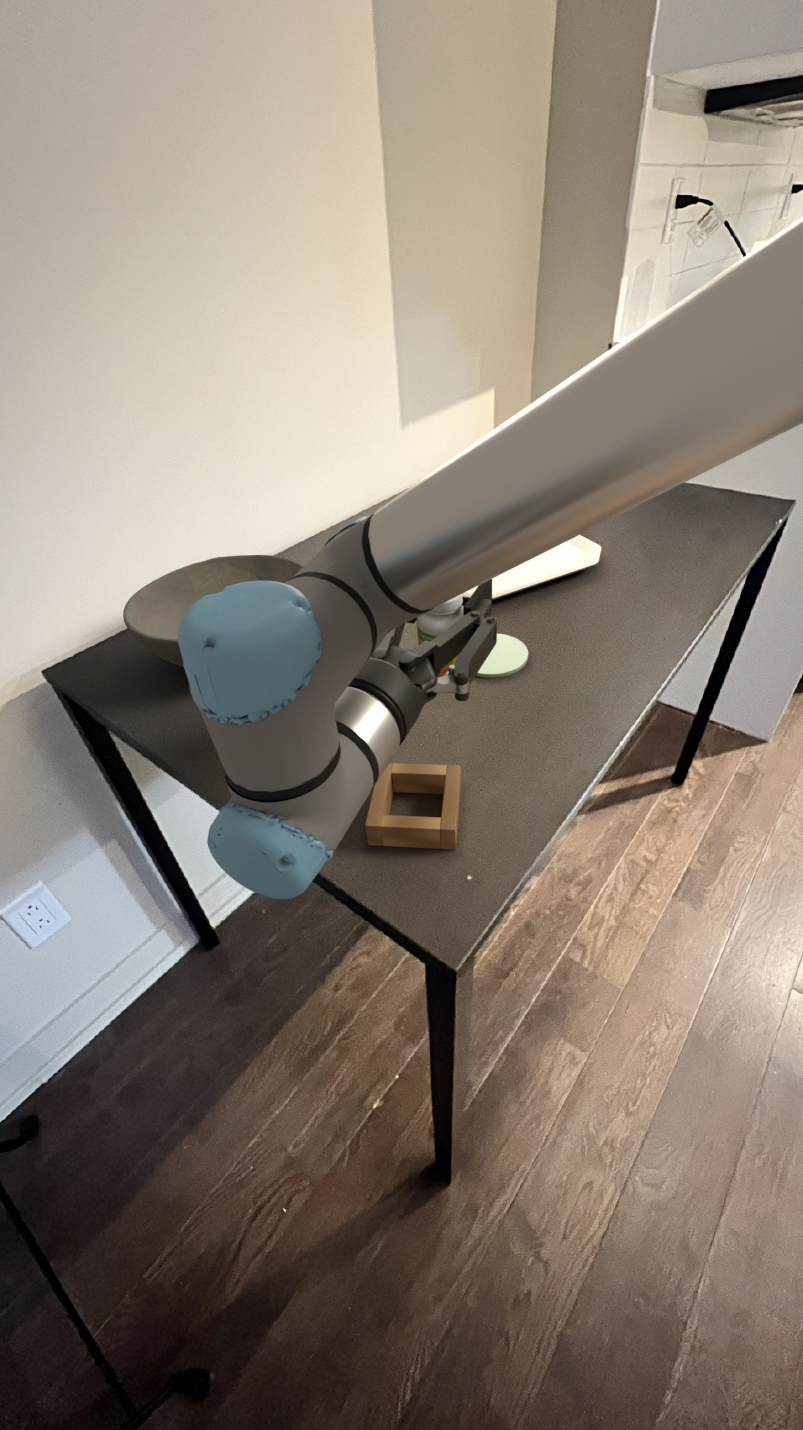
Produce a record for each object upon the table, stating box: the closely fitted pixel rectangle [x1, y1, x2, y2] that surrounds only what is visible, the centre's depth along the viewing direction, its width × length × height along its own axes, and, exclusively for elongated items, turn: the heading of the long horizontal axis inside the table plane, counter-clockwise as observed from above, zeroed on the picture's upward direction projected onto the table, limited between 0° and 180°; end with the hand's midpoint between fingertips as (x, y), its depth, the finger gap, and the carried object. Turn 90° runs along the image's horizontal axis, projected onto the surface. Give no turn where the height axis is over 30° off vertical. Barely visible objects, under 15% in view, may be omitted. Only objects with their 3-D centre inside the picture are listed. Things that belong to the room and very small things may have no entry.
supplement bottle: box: [416, 594, 465, 678], centre depth 64 cm, size 5×5×10 cm
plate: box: [462, 534, 602, 601], centre depth 108 cm, size 29×29×2 cm
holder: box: [364, 762, 463, 851], centre depth 64 cm, size 9×9×3 cm
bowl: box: [122, 554, 305, 668], centre depth 90 cm, size 26×26×10 cm
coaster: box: [475, 633, 529, 679], centre depth 86 cm, size 10×10×1 cm
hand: (460, 584), depth 65 cm, fingers closed on supplement bottle, 5 cm apart
